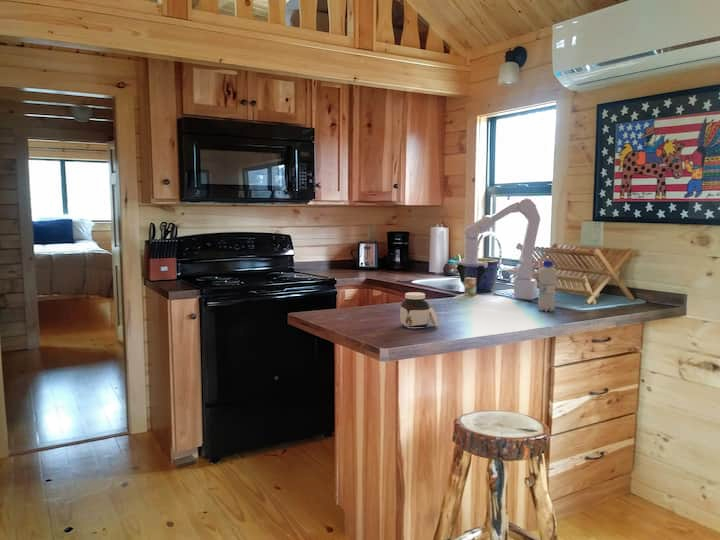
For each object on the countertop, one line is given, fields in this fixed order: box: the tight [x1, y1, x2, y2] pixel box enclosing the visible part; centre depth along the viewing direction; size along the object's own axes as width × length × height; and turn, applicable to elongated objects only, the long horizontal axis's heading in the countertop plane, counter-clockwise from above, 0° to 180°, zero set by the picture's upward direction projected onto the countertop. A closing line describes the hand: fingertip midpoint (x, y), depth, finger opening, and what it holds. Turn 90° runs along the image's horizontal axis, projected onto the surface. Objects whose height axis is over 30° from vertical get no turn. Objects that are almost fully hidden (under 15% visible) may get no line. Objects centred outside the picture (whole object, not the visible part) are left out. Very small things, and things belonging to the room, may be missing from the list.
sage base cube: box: [464, 287, 477, 297], centre depth 261 cm, size 4×4×4 cm
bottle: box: [537, 260, 558, 313], centre depth 228 cm, size 7×7×20 cm
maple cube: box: [463, 277, 476, 288], centre depth 260 cm, size 4×4×4 cm
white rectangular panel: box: [450, 292, 507, 304], centre depth 256 cm, size 20×16×1 cm
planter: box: [461, 257, 499, 293], centre depth 276 cm, size 17×17×15 cm
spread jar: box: [399, 291, 440, 328], centre depth 199 cm, size 12×11×12 cm
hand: (470, 282), depth 260 cm, fingers open, 7 cm apart
